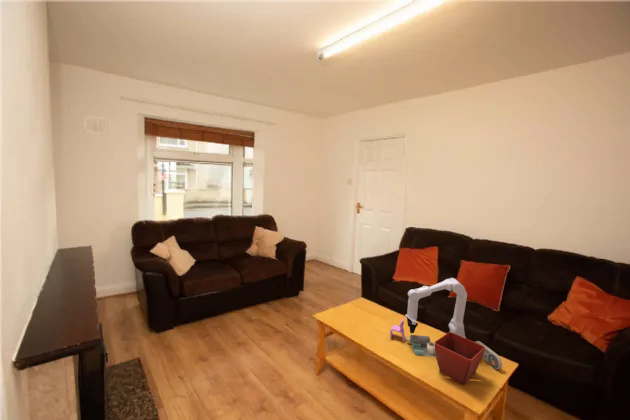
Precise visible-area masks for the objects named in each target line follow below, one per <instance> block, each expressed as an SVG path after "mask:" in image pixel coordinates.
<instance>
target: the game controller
mask: <svg viewBox="0 0 630 420" xmlns="http://www.w3.org/2000/svg"><path fill="white" fill-rule="evenodd" d="M474 342H475V343H477V344H480V345H482V346H484V347H485V350H484V354H483V356H482V359H484V360H485V362H487V363H488V364H489V366H491V368H492V369H494V370H500V369H502V367H503V361H502V359H501V357H500V356H499V355H498V354H497V353H496V352H495V351H493V350H492V349H491V348H490V347H488V346H487V345H485V344H484V343H482V342H481V341H479V340H477V341H474Z"/></svg>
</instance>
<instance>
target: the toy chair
mask: <svg viewBox="0 0 630 420" xmlns="http://www.w3.org/2000/svg"><path fill="white" fill-rule="evenodd" d="M404 320H405V317H402V319H401V321H400V324H399V325H396V324H393V325H392V327H391V329H390V332H389V335H390V336H389V337H390V338H389V339H390V340H392V339H393V332H396V333H400V334H401V337H402V342H404V341H405V339H406V336H405V328H404V325H405V324H404V323H405V321H404Z"/></svg>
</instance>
